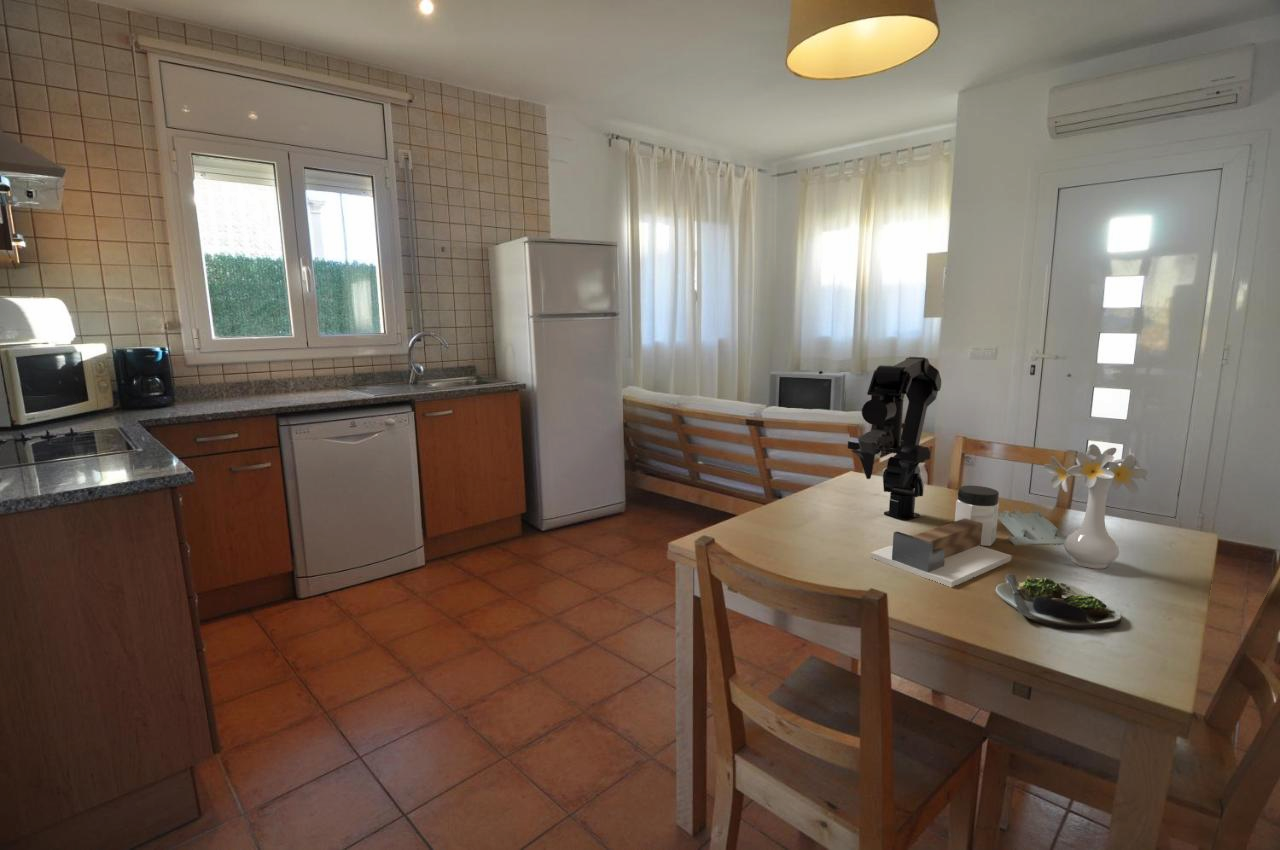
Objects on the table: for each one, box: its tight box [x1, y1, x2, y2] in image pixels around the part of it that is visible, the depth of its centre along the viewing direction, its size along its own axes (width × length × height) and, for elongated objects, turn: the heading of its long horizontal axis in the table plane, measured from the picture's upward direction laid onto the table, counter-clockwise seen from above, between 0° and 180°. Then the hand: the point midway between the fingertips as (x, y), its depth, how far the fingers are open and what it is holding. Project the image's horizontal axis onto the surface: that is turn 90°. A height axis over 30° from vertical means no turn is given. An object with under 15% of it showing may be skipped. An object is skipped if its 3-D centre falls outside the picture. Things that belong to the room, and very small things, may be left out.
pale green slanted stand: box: [997, 508, 1069, 547], centre depth 143 cm, size 14×6×15 cm
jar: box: [954, 485, 1000, 547], centre depth 140 cm, size 9×8×12 cm
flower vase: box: [1043, 443, 1149, 570], centre depth 124 cm, size 13×18×25 cm
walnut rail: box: [913, 518, 983, 558], centre depth 130 cm, size 22×4×5 cm, turn 123°
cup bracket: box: [892, 531, 945, 573], centre depth 125 cm, size 6×8×6 cm
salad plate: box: [995, 573, 1123, 631], centre depth 109 cm, size 19×18×5 cm
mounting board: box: [869, 544, 1012, 588], centre depth 130 cm, size 23×18×1 cm
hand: (885, 482), depth 146 cm, fingers open, 9 cm apart
